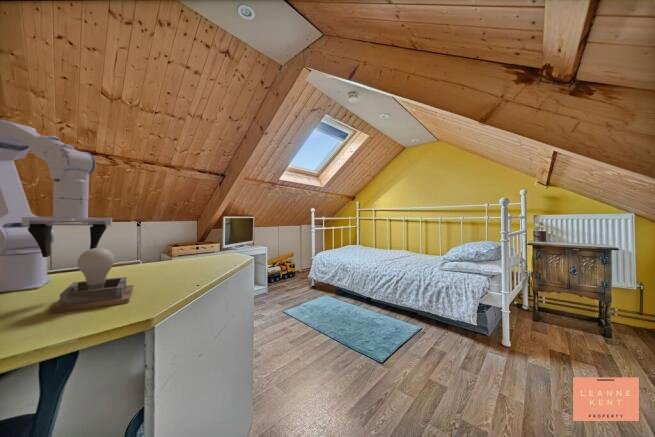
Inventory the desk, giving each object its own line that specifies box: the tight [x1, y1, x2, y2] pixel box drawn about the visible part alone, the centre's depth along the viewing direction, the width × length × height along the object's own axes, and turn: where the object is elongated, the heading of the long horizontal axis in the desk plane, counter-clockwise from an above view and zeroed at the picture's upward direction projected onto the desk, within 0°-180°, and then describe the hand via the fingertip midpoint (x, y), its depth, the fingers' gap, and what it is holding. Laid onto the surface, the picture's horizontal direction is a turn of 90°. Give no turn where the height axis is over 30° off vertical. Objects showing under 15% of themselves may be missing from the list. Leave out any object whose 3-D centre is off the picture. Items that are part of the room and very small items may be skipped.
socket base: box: [48, 276, 134, 315], centre depth 54 cm, size 11×12×4 cm
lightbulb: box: [76, 247, 116, 290], centre depth 54 cm, size 6×6×11 cm
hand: (70, 255), depth 56 cm, fingers open, 7 cm apart
